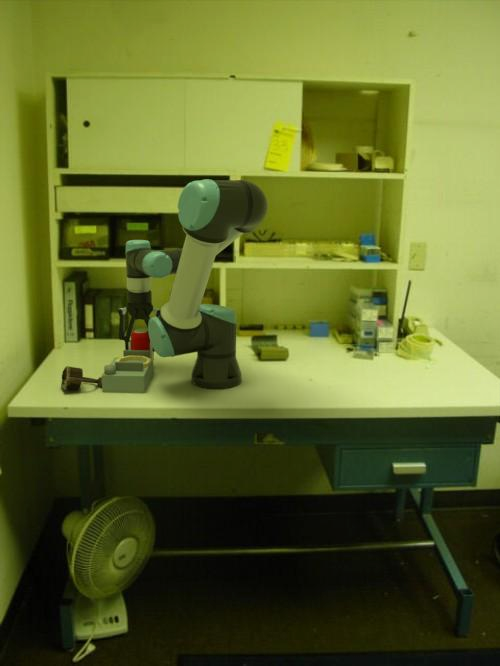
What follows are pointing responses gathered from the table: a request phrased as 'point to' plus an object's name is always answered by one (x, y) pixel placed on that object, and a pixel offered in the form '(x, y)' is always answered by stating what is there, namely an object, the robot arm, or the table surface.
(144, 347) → the beverage can
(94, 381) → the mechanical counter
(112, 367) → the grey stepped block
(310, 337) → the table surface
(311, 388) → the table surface
